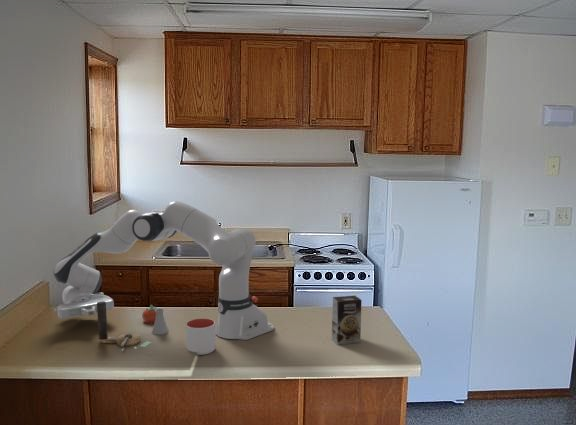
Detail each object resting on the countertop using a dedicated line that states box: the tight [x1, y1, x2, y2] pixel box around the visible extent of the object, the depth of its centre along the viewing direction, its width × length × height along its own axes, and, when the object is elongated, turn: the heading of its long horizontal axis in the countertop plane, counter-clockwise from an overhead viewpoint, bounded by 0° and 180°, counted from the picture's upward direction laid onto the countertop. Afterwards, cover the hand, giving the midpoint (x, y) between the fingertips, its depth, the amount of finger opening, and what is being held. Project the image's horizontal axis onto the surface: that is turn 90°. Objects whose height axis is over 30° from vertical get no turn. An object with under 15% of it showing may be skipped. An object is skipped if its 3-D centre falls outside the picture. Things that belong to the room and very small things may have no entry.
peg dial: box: [96, 302, 141, 347], centre depth 186 cm, size 14×12×14 cm
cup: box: [185, 317, 217, 356], centre depth 184 cm, size 10×10×10 cm
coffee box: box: [331, 294, 363, 346], centre depth 193 cm, size 9×6×16 cm
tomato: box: [141, 304, 158, 324], centre depth 210 cm, size 7×7×8 cm
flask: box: [151, 307, 169, 335], centre depth 198 cm, size 7×7×10 cm
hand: (91, 313), depth 197 cm, fingers closed
